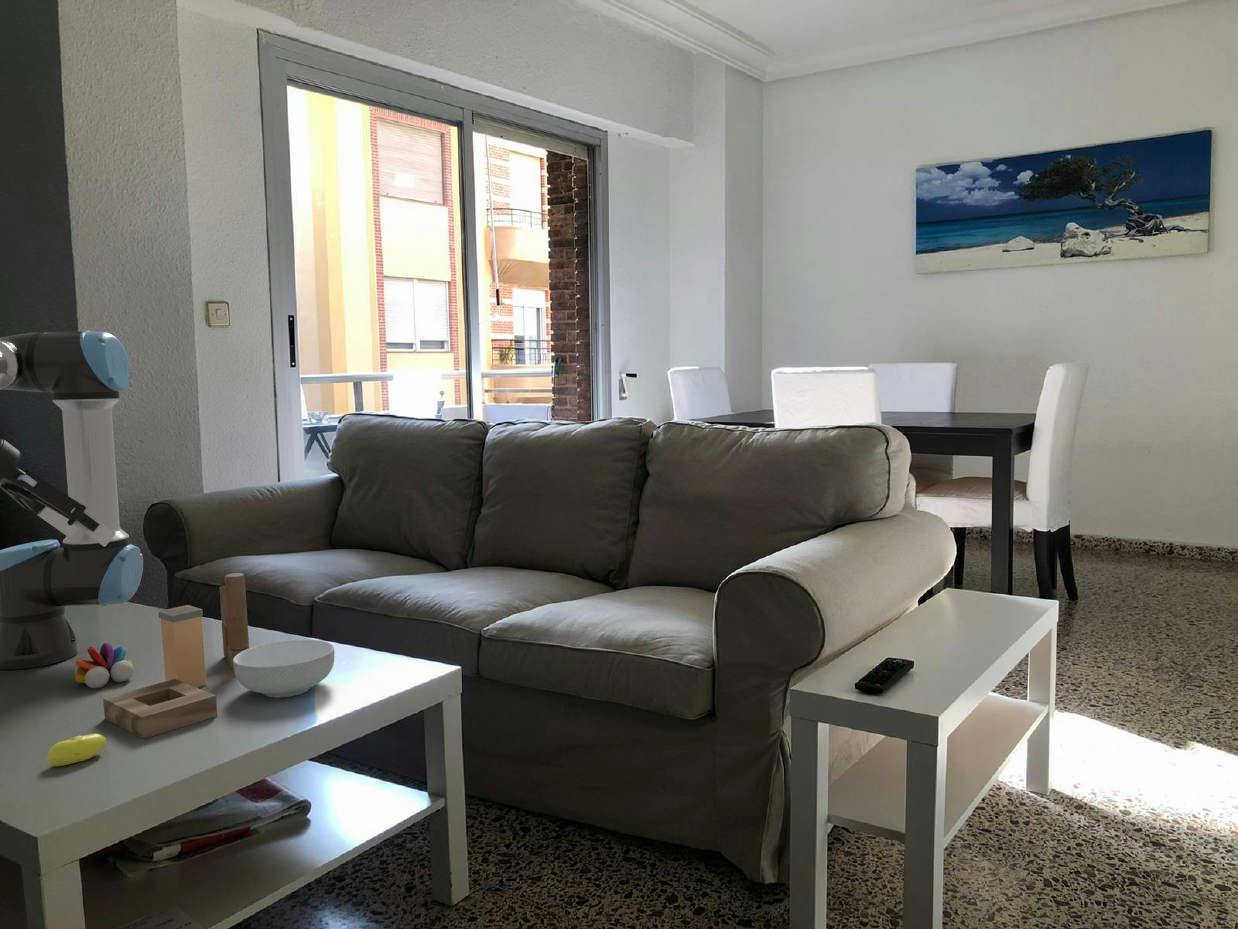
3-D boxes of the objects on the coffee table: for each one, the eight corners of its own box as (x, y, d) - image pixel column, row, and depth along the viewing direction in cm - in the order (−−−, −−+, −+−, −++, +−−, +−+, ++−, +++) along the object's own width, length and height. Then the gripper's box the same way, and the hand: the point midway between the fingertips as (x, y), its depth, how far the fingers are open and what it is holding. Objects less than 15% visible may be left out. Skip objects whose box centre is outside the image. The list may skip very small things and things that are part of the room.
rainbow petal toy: (68, 683, 177) (65, 645, 177) (123, 670, 184) (120, 633, 184) (85, 694, 172) (81, 654, 171) (141, 680, 179) (138, 641, 178)
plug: (164, 686, 174) (158, 611, 173) (193, 678, 178) (188, 604, 177) (178, 693, 171) (172, 616, 169) (207, 684, 175) (202, 609, 173)
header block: (104, 719, 159) (103, 698, 158) (176, 698, 168) (175, 678, 168) (143, 739, 150) (142, 717, 149) (217, 715, 159) (215, 695, 159)
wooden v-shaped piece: (242, 653, 193) (236, 565, 191) (252, 667, 184) (246, 575, 182) (223, 656, 192) (217, 567, 189) (232, 671, 182) (225, 577, 180)
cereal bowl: (341, 671, 181) (339, 635, 180) (330, 702, 164) (328, 662, 163) (246, 678, 178) (243, 641, 177) (225, 711, 161) (222, 670, 161)
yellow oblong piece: (44, 765, 141) (41, 740, 141) (103, 749, 147) (101, 724, 146) (52, 774, 138) (49, 747, 138) (112, 757, 144) (110, 731, 143)
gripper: (-64, 468, 154) (46, 545, 167) (-8, 478, 139) (109, 562, 152) (-29, 433, 158) (76, 511, 171) (29, 439, 142) (140, 524, 155)
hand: (92, 535), depth 161 cm, fingers open, 13 cm apart
